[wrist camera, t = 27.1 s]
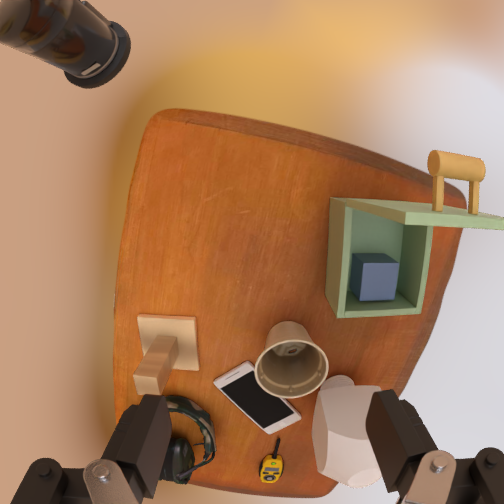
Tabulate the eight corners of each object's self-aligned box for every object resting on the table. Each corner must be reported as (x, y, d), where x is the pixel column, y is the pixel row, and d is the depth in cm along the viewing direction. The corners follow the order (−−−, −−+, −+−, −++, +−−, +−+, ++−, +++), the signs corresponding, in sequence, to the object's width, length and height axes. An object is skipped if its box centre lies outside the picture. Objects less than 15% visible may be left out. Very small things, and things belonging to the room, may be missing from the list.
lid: (519, 231, 18) (522, 164, 17) (404, 224, 18) (406, 140, 17) (436, 211, 33) (437, 165, 31) (346, 206, 33) (346, 156, 32)
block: (352, 253, 42) (363, 262, 37) (385, 253, 42) (399, 262, 37) (349, 287, 43) (359, 301, 38) (381, 286, 43) (394, 299, 38)
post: (139, 313, 46) (107, 352, 34) (195, 316, 45) (176, 360, 34) (147, 362, 48) (122, 407, 36) (200, 366, 47) (185, 416, 36)
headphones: (224, 485, 48) (227, 407, 46) (166, 511, 39) (154, 433, 37) (185, 451, 57) (182, 376, 56) (132, 469, 48) (118, 391, 47)
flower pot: (285, 374, 47) (289, 409, 39) (242, 339, 46) (239, 371, 38) (330, 337, 46) (343, 368, 37) (288, 298, 44) (294, 325, 36)
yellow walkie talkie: (256, 483, 53) (266, 442, 49) (256, 476, 54) (266, 435, 51) (279, 484, 53) (292, 443, 49) (279, 477, 54) (291, 436, 51)
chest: (398, 293, 44) (420, 313, 36) (324, 294, 44) (336, 318, 36) (407, 201, 41) (434, 207, 33) (329, 197, 41) (345, 201, 33)
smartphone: (268, 431, 50) (268, 435, 50) (213, 380, 48) (212, 383, 47) (301, 415, 49) (302, 418, 48) (248, 359, 47) (248, 362, 46)
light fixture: (307, 409, 49) (322, 501, 30) (312, 367, 47) (335, 462, 28) (357, 405, 49) (388, 490, 29) (367, 363, 47) (410, 449, 27)
